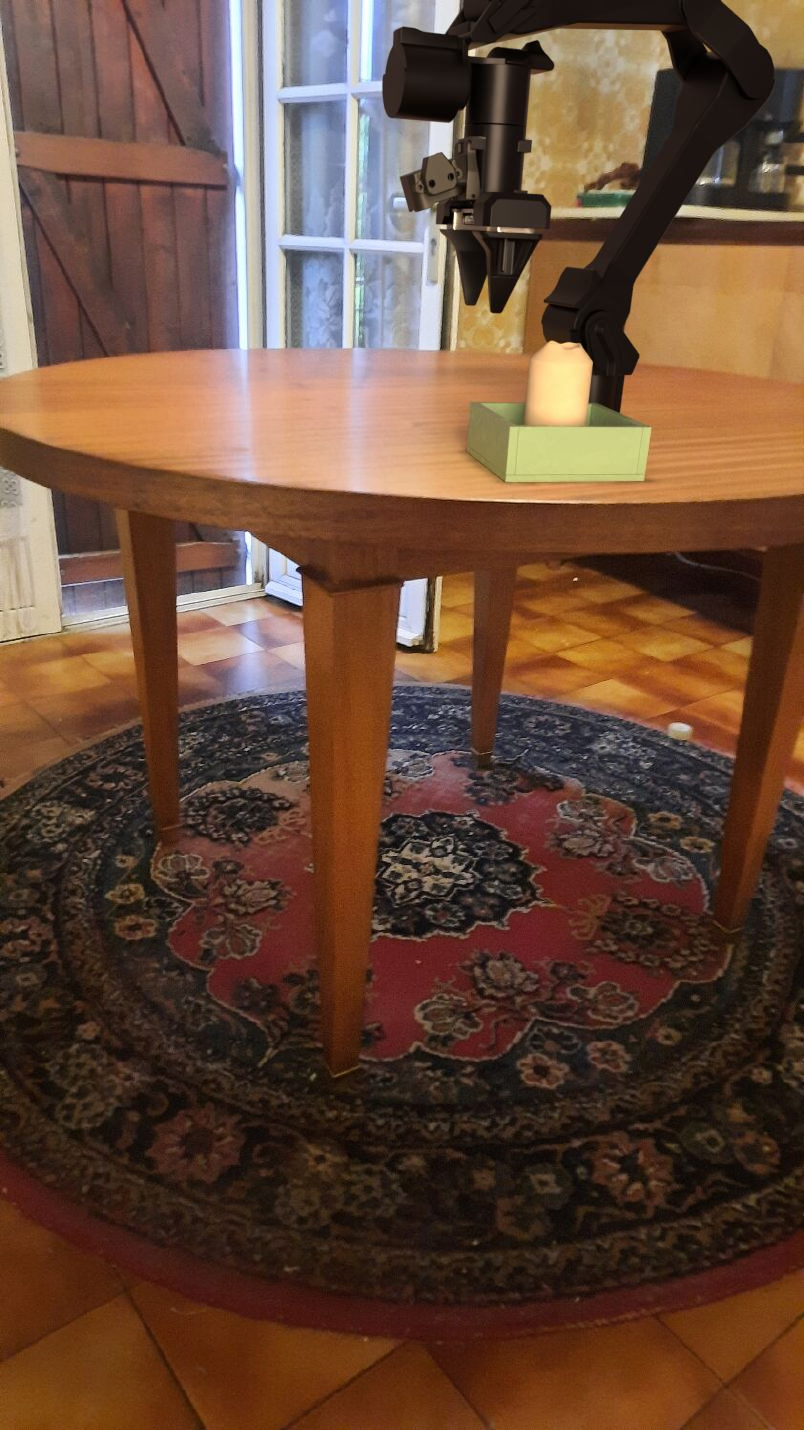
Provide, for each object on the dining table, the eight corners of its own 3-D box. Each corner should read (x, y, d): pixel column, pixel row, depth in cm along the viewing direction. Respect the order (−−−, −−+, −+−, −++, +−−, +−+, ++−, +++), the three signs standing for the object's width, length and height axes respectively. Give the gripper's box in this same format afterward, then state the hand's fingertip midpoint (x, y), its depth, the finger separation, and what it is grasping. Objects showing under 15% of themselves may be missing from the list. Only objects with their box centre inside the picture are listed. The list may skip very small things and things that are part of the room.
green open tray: (591, 451, 99) (596, 402, 97) (644, 481, 88) (652, 427, 86) (466, 451, 97) (469, 401, 95) (505, 482, 86) (510, 426, 84)
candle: (543, 467, 89) (555, 346, 85) (508, 454, 93) (518, 339, 89) (593, 463, 91) (608, 345, 87) (557, 451, 96) (569, 338, 91)
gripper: (389, 129, 100) (384, 299, 107) (433, 112, 84) (424, 315, 91) (498, 136, 102) (486, 303, 109) (561, 121, 86) (543, 318, 93)
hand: (482, 309), depth 100 cm, fingers open, 9 cm apart
